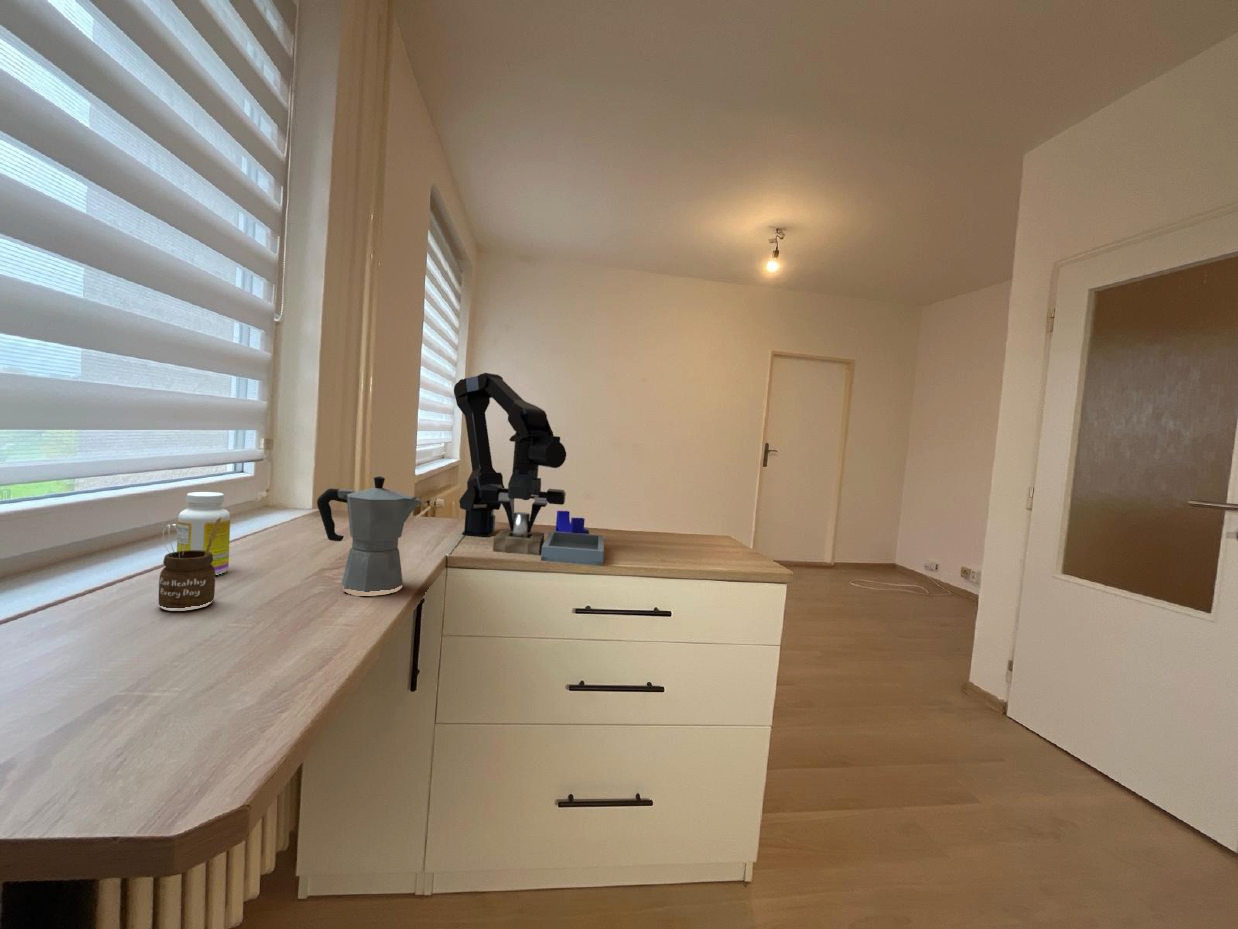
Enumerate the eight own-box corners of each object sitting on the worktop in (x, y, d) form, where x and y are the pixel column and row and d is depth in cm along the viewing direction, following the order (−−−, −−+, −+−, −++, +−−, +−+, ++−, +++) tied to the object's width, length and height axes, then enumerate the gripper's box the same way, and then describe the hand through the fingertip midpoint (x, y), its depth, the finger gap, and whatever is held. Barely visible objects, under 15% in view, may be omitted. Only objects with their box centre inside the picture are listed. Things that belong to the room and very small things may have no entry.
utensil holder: (168, 599, 75) (172, 512, 75) (222, 598, 78) (226, 514, 77) (149, 613, 70) (152, 520, 69) (208, 612, 72) (212, 522, 71)
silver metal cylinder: (510, 549, 123) (513, 514, 123) (512, 545, 127) (515, 511, 126) (525, 550, 123) (528, 515, 123) (528, 547, 127) (530, 512, 126)
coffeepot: (420, 581, 93) (427, 476, 92) (410, 599, 84) (418, 482, 83) (322, 578, 91) (329, 469, 89) (300, 596, 81) (307, 475, 80)
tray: (540, 560, 115) (541, 546, 115) (548, 543, 133) (549, 530, 133) (602, 565, 116) (603, 551, 116) (602, 547, 134) (603, 535, 134)
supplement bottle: (234, 568, 92) (238, 492, 91) (219, 579, 85) (222, 497, 85) (186, 568, 90) (190, 490, 89) (167, 579, 83) (170, 495, 82)
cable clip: (588, 542, 139) (590, 518, 139) (571, 542, 137) (573, 518, 137) (570, 532, 150) (572, 511, 150) (555, 532, 148) (557, 510, 148)
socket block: (492, 551, 120) (493, 537, 120) (501, 541, 130) (502, 529, 130) (538, 554, 120) (539, 541, 120) (543, 545, 130) (544, 532, 130)
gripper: (476, 461, 115) (470, 535, 116) (564, 469, 116) (558, 542, 117) (487, 459, 127) (482, 525, 128) (568, 466, 127) (562, 532, 128)
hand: (520, 531), depth 125 cm, fingers closed on silver metal cylinder, 3 cm apart
